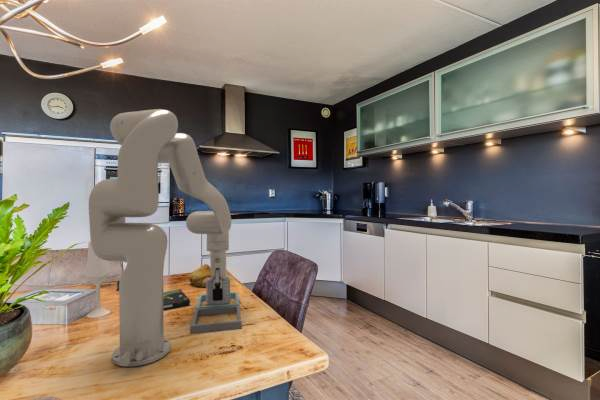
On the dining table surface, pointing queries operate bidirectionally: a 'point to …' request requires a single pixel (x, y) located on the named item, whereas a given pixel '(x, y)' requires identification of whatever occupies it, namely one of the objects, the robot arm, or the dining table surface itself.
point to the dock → (212, 311)
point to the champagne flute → (96, 278)
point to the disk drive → (175, 300)
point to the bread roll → (200, 275)
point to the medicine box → (210, 291)
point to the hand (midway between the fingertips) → (218, 297)
